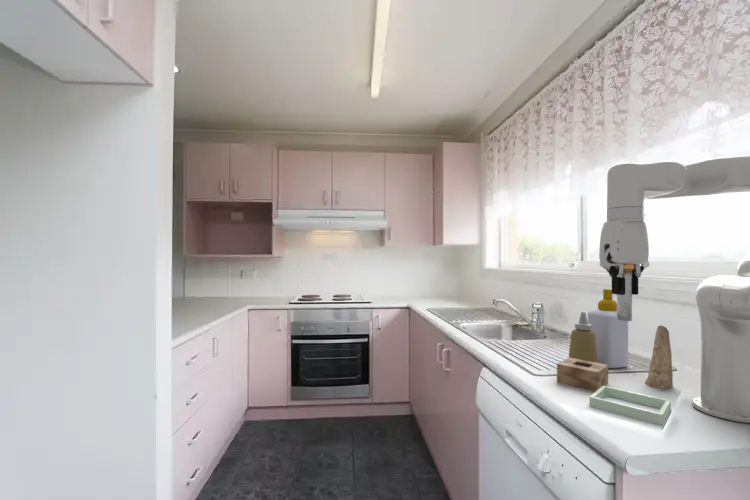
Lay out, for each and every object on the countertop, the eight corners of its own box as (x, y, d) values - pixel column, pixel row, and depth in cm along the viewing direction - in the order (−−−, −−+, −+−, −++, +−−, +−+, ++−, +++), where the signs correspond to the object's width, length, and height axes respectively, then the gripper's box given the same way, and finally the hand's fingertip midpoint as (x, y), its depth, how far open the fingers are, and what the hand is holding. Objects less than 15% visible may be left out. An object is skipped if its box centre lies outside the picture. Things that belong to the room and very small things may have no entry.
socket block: (608, 386, 104) (608, 364, 104) (597, 395, 97) (598, 372, 97) (569, 378, 111) (569, 357, 111) (556, 385, 104) (557, 363, 104)
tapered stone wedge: (644, 391, 103) (672, 397, 99) (647, 327, 101) (676, 331, 97) (645, 382, 108) (672, 387, 104) (648, 321, 106) (675, 324, 102)
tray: (670, 413, 86) (670, 400, 86) (662, 429, 78) (662, 415, 78) (602, 397, 96) (603, 385, 96) (589, 409, 88) (589, 396, 88)
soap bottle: (629, 367, 123) (630, 290, 123) (608, 369, 120) (609, 290, 121) (605, 360, 132) (606, 288, 132) (585, 361, 129) (586, 288, 129)
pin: (624, 318, 92) (625, 263, 92) (638, 321, 88) (638, 264, 88) (610, 318, 91) (611, 263, 91) (623, 321, 87) (624, 264, 87)
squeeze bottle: (568, 370, 119) (569, 313, 119) (568, 364, 126) (569, 310, 126) (598, 374, 115) (598, 315, 115) (596, 367, 122) (597, 312, 122)
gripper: (638, 219, 95) (638, 292, 95) (583, 217, 91) (583, 293, 91) (667, 216, 88) (668, 295, 87) (609, 213, 84) (609, 296, 84)
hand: (624, 293), depth 89 cm, fingers closed on pin, 3 cm apart
